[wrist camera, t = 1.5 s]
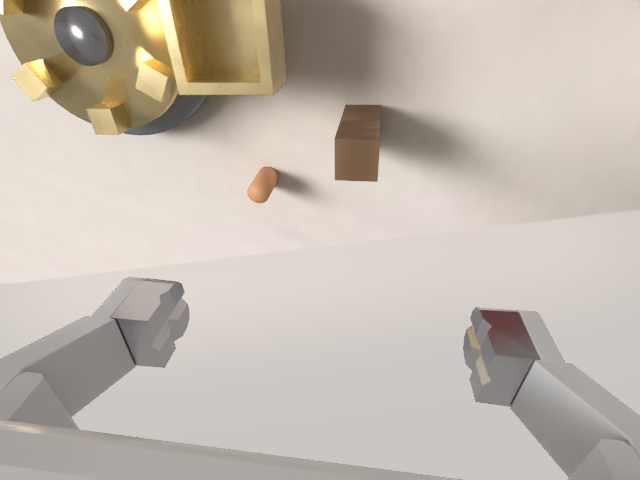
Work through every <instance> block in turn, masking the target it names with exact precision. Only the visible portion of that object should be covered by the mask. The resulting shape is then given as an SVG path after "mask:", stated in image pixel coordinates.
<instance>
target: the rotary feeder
mask: <svg viewBox="0 0 640 480" xmlns="http://www.w3.org/2000/svg"><path fill="white" fill-rule="evenodd" d="M0 21H1V24H2V27H3V29H4V32H5V34H6V37H7V39H8V41H9V43H10V45H11V47H12V49H13V51H14V52H15V54H16V56H17V57H18V59H19V61H20V62H21V64H22V66H21V67H20V68H19V69H18V70H17V72H16V73H15V74H14V75H13V76H12V77H11V79H12V80H13V81H14V82H15V83H16V84H17V85H18V86H19V87H20V88H21V89H22V90H23V91H24V92H25V94H26V95H27V96H28V97H29V98H30V99H31V100H32V101H33V102H34V101H37V100H40V99H43V98H46V97H49V96H50V97H51V98H52V99H53V100H54V101H55V102H57V103H58V104H59V105H60V106H62V107H63V108H65V109H66V110H67V111H69V112H70V113H72V114H74V115H76V116H77V117H79V118H81V119H83V120H85V121H87V122H90V123H92V125H93V128H94V131H95V133H96V134H101V135H119V134H121V133H123V132H125V131H127V130H128V129H131V128H136V127H140V126H143V125H145V124H148V123H149V122H151V121H153V120H155V119H156V118H158V117H160V116H161V115H163V114H165V113H166V112H168V111H169V110H170V109H171V108H172V107H173V106H174V105H175V104H176V102H177V101H178V100H179V99H180V97H181V95H274V94H275V93H276V92H277V91H278V90H279V89H280V88H281V87H282V86H283V85H284V84H285V83H286V65H285V51H284V38H283V25H282V12H281V0H0Z"/></svg>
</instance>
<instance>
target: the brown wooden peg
mask: <svg viewBox="0 0 640 480" xmlns="http://www.w3.org/2000/svg"><path fill="white" fill-rule="evenodd" d="M380 120H381V105H346V106H345V109H344V112H343V115H342V118H341V121H340V124H339V127H338V130H337V133H336V137H335V180H347V181H376V182H377V179H378V163H379V147H380Z"/></svg>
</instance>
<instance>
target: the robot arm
mask: <svg viewBox="0 0 640 480" xmlns="http://www.w3.org/2000/svg"><path fill="white" fill-rule="evenodd" d="M183 294H184V289H183V287H182V284H181V283H179V282H175V281H166V280H157V279H148V278H145V279H143V278H135V277H128V278H125V279H124V280H123V281H122V282H121V283H120V284H119V285H118V286H117V288H116V289H115V290H114V291H113V292H112V293H111V294H110V296H109V297H108V298H107V299H106V300H105V301H104V302H103V303H102V305H101V306H100V307H99V308H98V309H97V310H96V311H95V312H94V314H93V315H92V316H85V317H83V318H81V319H79V320H77V321H75V322H73V323H71V324H69V325H67V326H65V327H63V328H61V329H59V330H57V331H55V332H53V333H51V334H49V335H47V336H45V337H43V338H41V339H39V340H37V341H35V342H33V343H31V344H29V345H27V346H25V347H23V348H21V349H19V350H17V351H15V352H13V353H11V354H9V355H7V356H5V357H3V358H1V359H0V480H461V479H453V478H445V477H438V476H430V475H423V474H415V473H407V472H399V471H392V470H384V469H377V468H369V467H361V466H354V465H346V464H338V463H330V462H323V461H314V460H308V459H299V458H292V457H284V456H276V455H269V454H261V453H253V452H246V451H238V450H230V449H222V448H214V447H207V446H199V445H192V444H184V443H176V442H169V441H161V440H153V439H146V438H138V437H130V436H122V435H115V434H108V433H100V432H92V431H84V430H80V429H79V428H78V427H77V425H76V424H75V422H74V421H73V419H72V418H71V417H72V416H73V415H75V414H76V413H77V412H78V411H80V410H81V409H82V408H83V407H85V406H86V405H87V404H89V403H90V402H91V401H93V400H94V399H95V398H96V397H98V396H99V395H100V394H101V393H103V392H104V391H105V390H107V389H108V388H109V387H110V386H111V385H113V384H114V383H115V382H117V381H118V380H119V379H121V378H122V377H123V376H124V375H126V374H127V373H128V372H130V371H131V370H132V369H133V368H135V365H140V366H152V367H165V366H166V364H167V363H168V361H169V359H170V357H171V356H172V353H173V352H174V350H175V349H176V348H175V344H174V341H175V340H177V339H178V338H180V337H181V336H183V334H184V332H185V330H186V328H187V325H188V321H189V308H188V304H187V303H186V302H185V301H184V300H183V299H182V298H181V297H182V295H183ZM471 321H472V326H471V327H469V328H468V329H467V330H466V333H465V337H464V346H463V350H464V357H465V361H466V365H467V366H468V367H469V368H470V369H471V370H472V374H471V377H470V382H471V385H472V389H473V393H474V397H475V401H476V402H480V403H488V404H495V405H503V406H510V407H511V408H510V409H511V410H512V411H513V412H514V413H515V414H516V416H517V417H518V418H519V419H520V420H521V422H522V423H523V424H524V425H525V426H526V427H527V429H528V430H529V431H530V432H531V433H532V434H533V436H534V437H535V438H536V439H537V440H538V442H539V443H540V444H541V445H542V446H543V447H544V449H545V450H546V451H547V452H548V453H549V455H550V456H551V457H552V458H553V459H554V461H555V462H556V463H557V464H558V465H559V466H560V468H561V469H562V470H563V471H564V472H565V473H566V475H567V476H568V477H569V479H568V480H640V415H638V414H637V413H636V412H634V411H633V410H632V409H630V408H629V407H628V406H626V405H625V404H624V403H623V402H621V401H620V400H619V399H617V398H616V397H615V396H613V395H612V394H611V393H610V392H608V391H607V390H606V389H604V388H603V387H602V386H600V385H599V384H598V383H596V382H595V381H594V380H593V379H591V378H590V377H588V376H587V375H586V374H584V373H583V372H582V371H581V370H579V369H578V368H577V367H576V366H574V365H573V364H570V363H565V361H564V360H563V357H562V356H561V354H560V352H559V350H558V348H557V346H556V344H555V342H554V341H553V339H552V337H551V335H550V333H549V331H548V329H547V327H546V325H545V324H544V322H543V320H542V318H541V316H540V314H538V313H537V312H534V311H519V310H515V311H514V310H503V309H491V308H478V307H476V308H475V309H474V310H473V312H472V315H471Z"/></svg>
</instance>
